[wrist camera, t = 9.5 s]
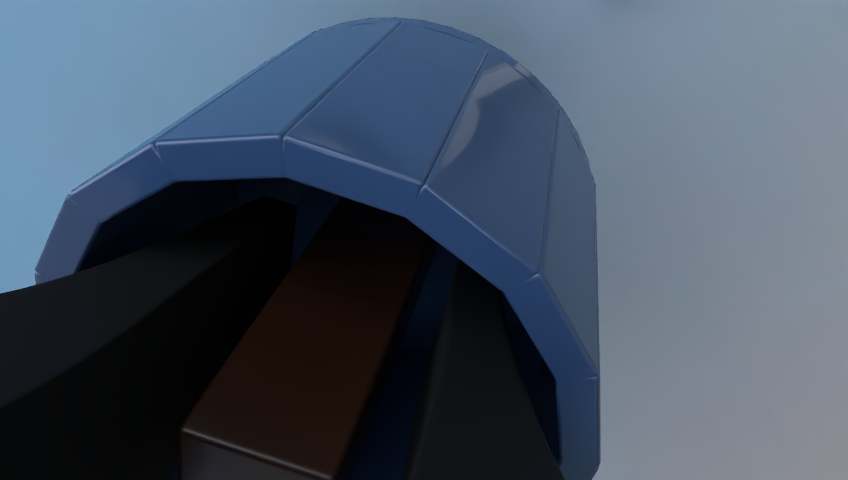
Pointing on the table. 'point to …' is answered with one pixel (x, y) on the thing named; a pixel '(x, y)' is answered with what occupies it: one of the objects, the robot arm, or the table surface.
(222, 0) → the table surface
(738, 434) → the table surface
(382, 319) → the dark brown square post
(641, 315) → the table surface
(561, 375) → the cup
